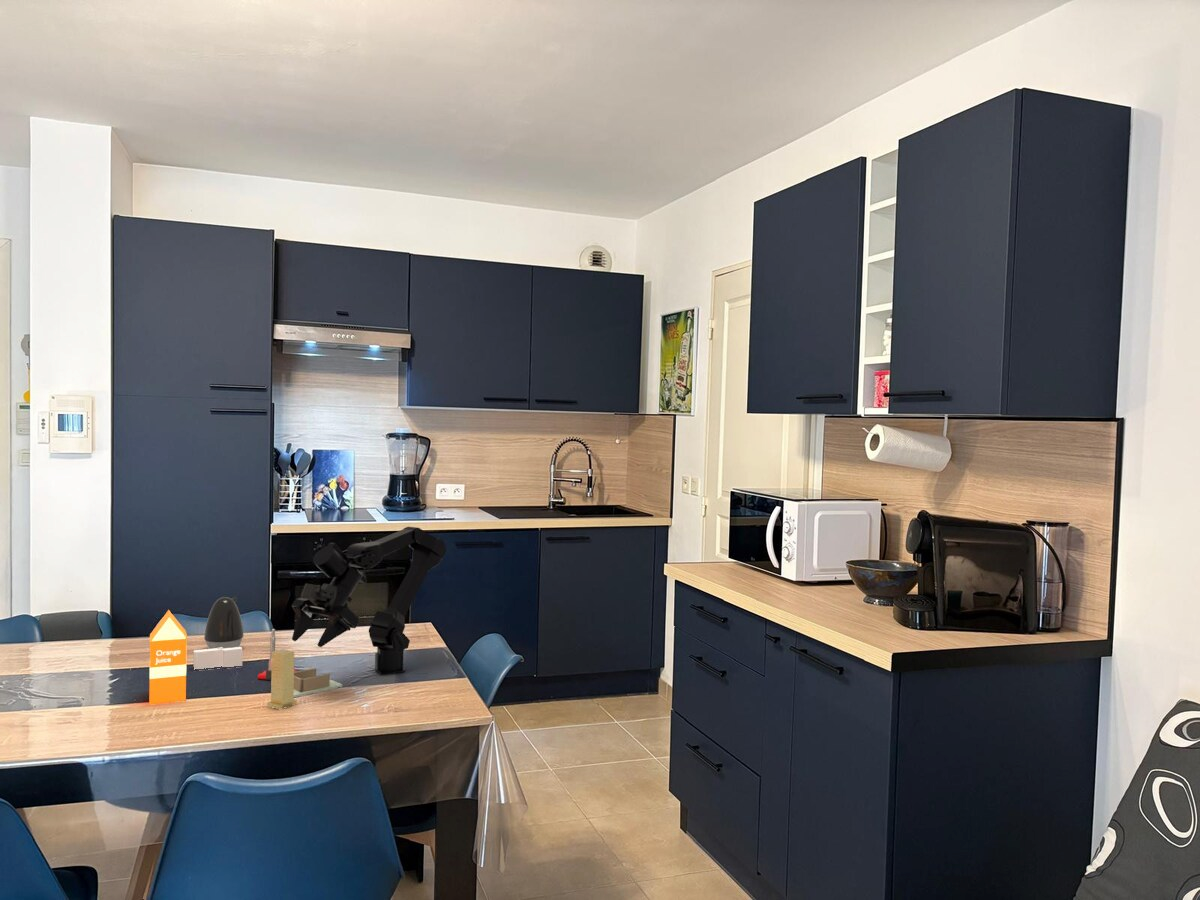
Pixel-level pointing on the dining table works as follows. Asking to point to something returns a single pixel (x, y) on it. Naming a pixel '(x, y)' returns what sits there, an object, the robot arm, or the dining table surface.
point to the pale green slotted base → (312, 682)
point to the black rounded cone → (224, 625)
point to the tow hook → (267, 673)
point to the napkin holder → (217, 657)
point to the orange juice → (167, 661)
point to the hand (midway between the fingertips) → (306, 643)
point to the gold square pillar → (282, 679)
